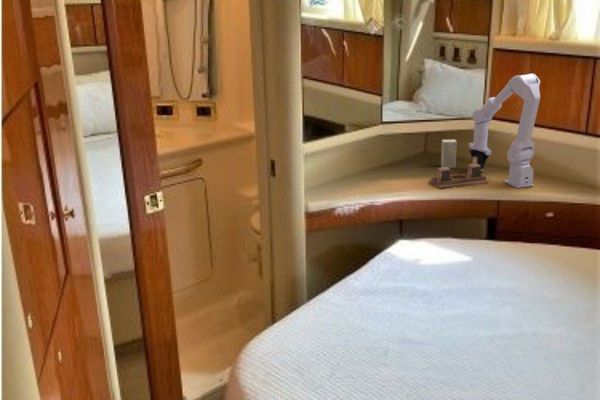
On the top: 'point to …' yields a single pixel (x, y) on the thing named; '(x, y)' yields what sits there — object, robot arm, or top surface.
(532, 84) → the robot arm
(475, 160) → the rose block
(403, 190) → the top surface
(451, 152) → the skincare box
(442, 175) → the walnut rack
